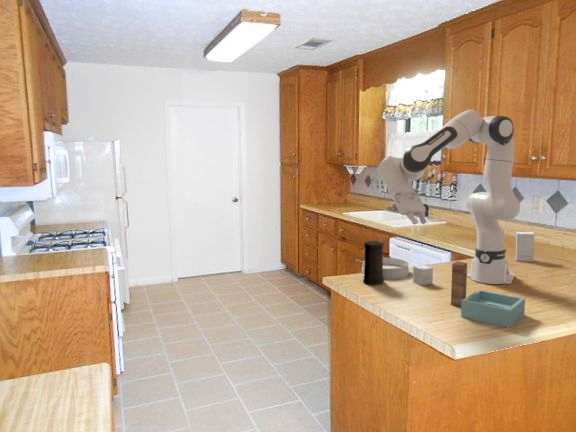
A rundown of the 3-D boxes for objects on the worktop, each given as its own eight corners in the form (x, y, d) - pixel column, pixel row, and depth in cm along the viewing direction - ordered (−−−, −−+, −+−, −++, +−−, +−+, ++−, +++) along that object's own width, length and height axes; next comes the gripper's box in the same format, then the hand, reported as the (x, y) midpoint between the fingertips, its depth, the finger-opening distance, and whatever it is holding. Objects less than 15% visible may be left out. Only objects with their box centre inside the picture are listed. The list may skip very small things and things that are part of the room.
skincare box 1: (424, 280, 204) (424, 264, 203) (432, 284, 198) (433, 267, 197) (412, 282, 202) (413, 266, 201) (421, 285, 196) (421, 269, 195)
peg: (455, 301, 175) (456, 261, 173) (465, 304, 172) (467, 263, 170) (450, 304, 172) (452, 263, 170) (461, 306, 169) (463, 265, 167)
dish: (383, 264, 234) (383, 255, 233) (418, 273, 216) (418, 263, 216) (352, 272, 221) (352, 262, 220) (387, 282, 203) (387, 271, 203)
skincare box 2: (532, 259, 238) (534, 231, 236) (533, 262, 233) (535, 233, 231) (514, 258, 241) (516, 231, 239) (515, 261, 236) (516, 232, 234)
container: (384, 280, 205) (385, 241, 203) (383, 286, 197) (383, 245, 194) (364, 279, 208) (364, 240, 205) (362, 284, 199) (362, 244, 197)
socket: (478, 305, 171) (479, 289, 170) (524, 314, 160) (525, 298, 159) (461, 316, 159) (461, 300, 159) (509, 328, 149) (510, 310, 148)
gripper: (399, 188, 172) (417, 219, 167) (418, 190, 188) (435, 219, 184) (385, 197, 175) (403, 228, 170) (405, 198, 191) (422, 227, 187)
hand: (420, 223), depth 177 cm, fingers open, 8 cm apart
